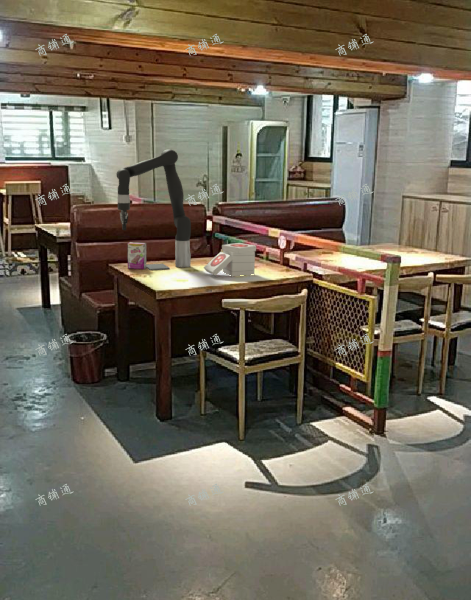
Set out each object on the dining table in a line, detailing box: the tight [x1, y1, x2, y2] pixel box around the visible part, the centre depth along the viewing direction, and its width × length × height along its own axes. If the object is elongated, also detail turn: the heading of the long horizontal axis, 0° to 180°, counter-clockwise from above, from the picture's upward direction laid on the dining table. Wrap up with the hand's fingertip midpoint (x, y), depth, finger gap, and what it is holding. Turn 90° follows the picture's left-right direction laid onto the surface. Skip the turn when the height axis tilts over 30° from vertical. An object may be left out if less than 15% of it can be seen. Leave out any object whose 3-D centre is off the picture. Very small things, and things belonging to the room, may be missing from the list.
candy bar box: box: [127, 241, 147, 270], centre depth 398 cm, size 11×5×16 cm, turn 82°
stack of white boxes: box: [203, 242, 257, 277], centre depth 385 cm, size 19×30×18 cm, turn 114°
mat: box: [146, 263, 171, 271], centre depth 404 cm, size 13×16×1 cm
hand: (124, 229), depth 391 cm, fingers closed
